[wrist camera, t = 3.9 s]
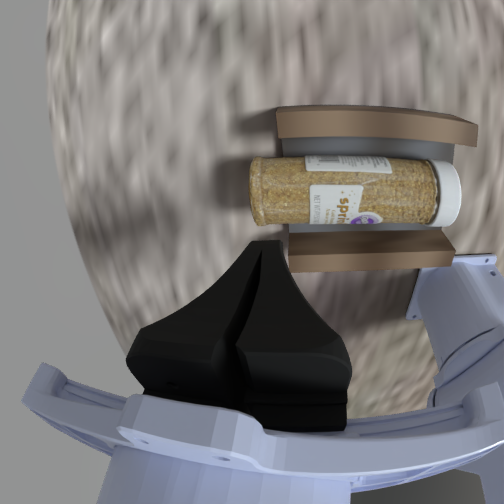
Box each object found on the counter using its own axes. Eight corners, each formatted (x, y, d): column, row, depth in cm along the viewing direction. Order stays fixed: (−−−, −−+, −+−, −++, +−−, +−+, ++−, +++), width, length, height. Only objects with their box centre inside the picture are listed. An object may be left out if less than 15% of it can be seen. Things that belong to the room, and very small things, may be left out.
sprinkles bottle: (247, 227, 16) (465, 227, 13) (246, 147, 15) (460, 154, 13) (260, 226, 20) (435, 226, 18) (258, 163, 20) (432, 167, 17)
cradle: (452, 114, 14) (478, 125, 12) (435, 241, 21) (450, 266, 18) (278, 106, 17) (275, 112, 14) (290, 244, 23) (289, 272, 20)
